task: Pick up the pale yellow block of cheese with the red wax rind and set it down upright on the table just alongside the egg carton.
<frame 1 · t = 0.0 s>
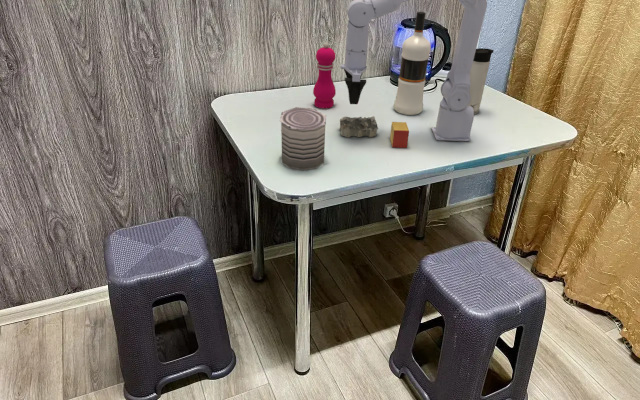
hand: (353, 98, 131), 10 cm above the table, tool pointing down, fingers open, 7 cm apart
pepper mill: (323, 105, 153), on the table
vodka: (407, 110, 152), on the table
can: (302, 160, 121), on the table
travel mug: (468, 111, 152), on the table
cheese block: (398, 142, 131), on the table
egg carton: (357, 132, 137), on the table
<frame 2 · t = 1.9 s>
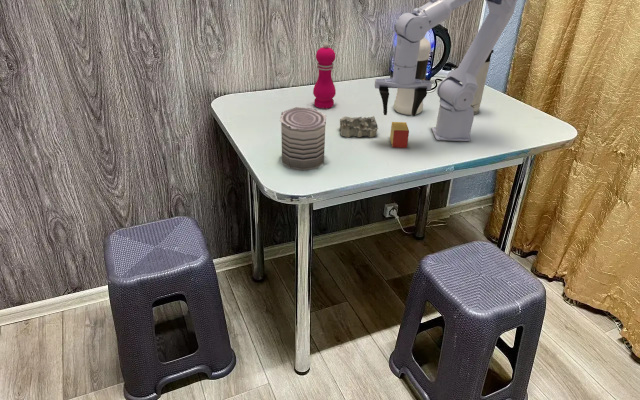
hand: (399, 114, 127), 8 cm above the table, tool pointing down, fingers open, 7 cm apart
nothing on the table moved.
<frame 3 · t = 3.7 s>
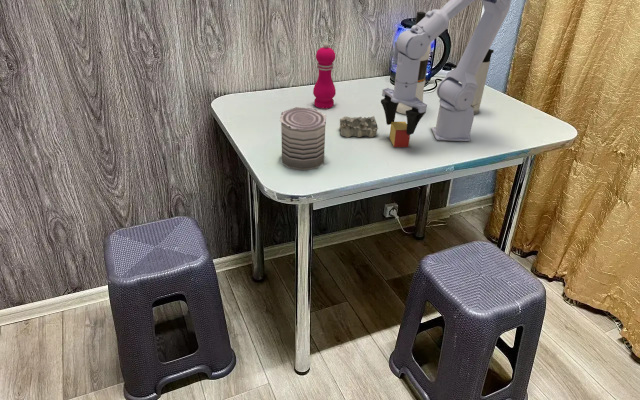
hand: (399, 128, 129), 4 cm above the table, tool pointing down
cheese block: (398, 142, 132), on the table, touching gripper
everything else where it was.
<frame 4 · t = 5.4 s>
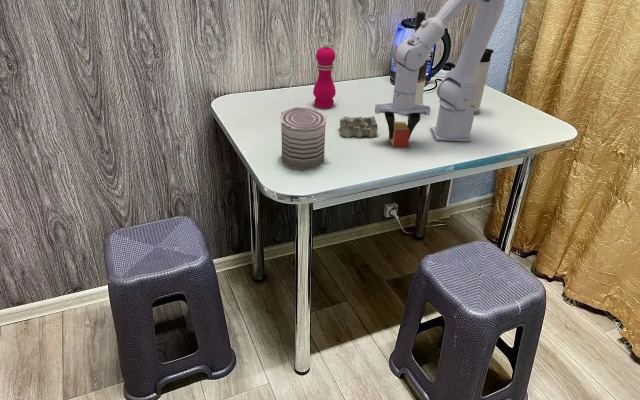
hand: (398, 137, 131), 1 cm above the table, tool pointing down, fingers closed on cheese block, 4 cm apart
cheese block: (398, 142, 132), on the table, touching gripper
everything else where it was.
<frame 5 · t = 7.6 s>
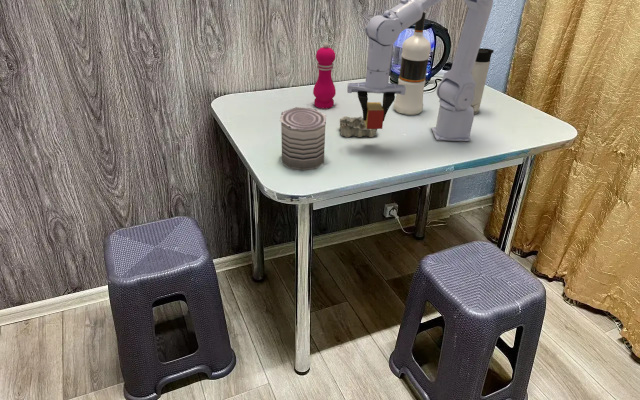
hand: (373, 119, 124), 8 cm above the table, tool pointing down, fingers closed on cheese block, 4 cm apart
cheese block: (372, 123, 125), point 7 cm above the table, touching gripper
everything else where it was.
when the fingers open (1 cm above the table, at t = 9.8 s): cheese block stays where it is, on the table.
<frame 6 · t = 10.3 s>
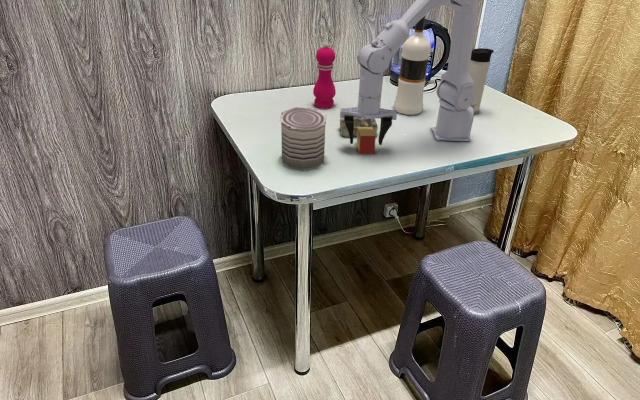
hand: (365, 142, 127), 2 cm above the table, tool pointing down, fingers open, 7 cm apart
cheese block: (365, 148, 128), on the table
everything else where it was.
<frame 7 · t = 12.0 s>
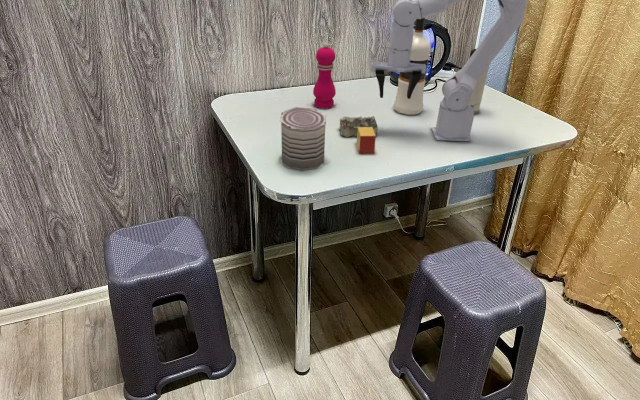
hand: (394, 97, 132), 10 cm above the table, tool pointing down, fingers open, 7 cm apart
nothing on the table moved.
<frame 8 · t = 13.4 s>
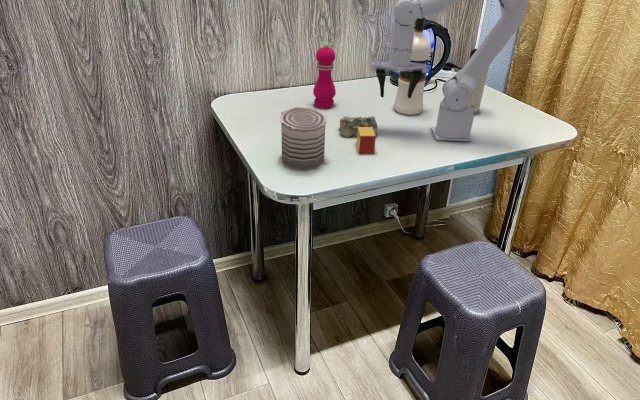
hand: (395, 96, 132), 10 cm above the table, tool pointing down, fingers open, 7 cm apart
nothing on the table moved.
at the end: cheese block inside the target area on the table beside the egg carton (1.0 cm from its centre), on the table; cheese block tilted 0°; egg carton moved 0.2 cm from its start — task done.
